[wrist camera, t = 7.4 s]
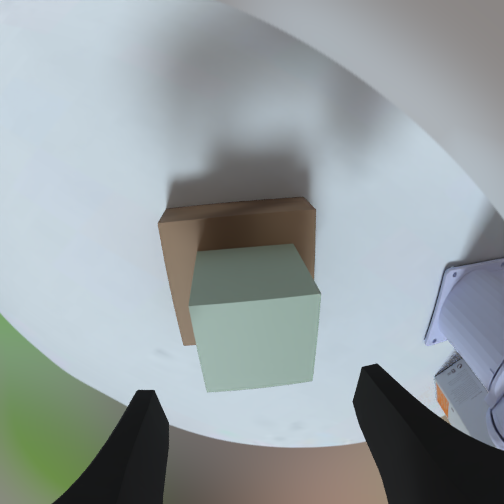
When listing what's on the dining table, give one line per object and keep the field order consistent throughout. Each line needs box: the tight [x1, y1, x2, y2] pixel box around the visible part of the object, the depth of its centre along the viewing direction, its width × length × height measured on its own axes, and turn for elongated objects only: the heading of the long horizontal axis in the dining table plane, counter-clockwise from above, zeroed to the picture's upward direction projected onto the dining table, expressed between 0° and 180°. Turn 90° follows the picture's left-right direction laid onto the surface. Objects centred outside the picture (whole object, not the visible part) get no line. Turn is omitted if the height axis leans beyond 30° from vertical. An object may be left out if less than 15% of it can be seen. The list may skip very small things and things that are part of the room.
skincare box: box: [435, 359, 497, 448], centre depth 23 cm, size 6×4×12 cm
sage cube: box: [189, 244, 321, 392], centre depth 15 cm, size 5×5×5 cm
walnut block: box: [158, 197, 316, 346], centre depth 18 cm, size 8×8×3 cm
